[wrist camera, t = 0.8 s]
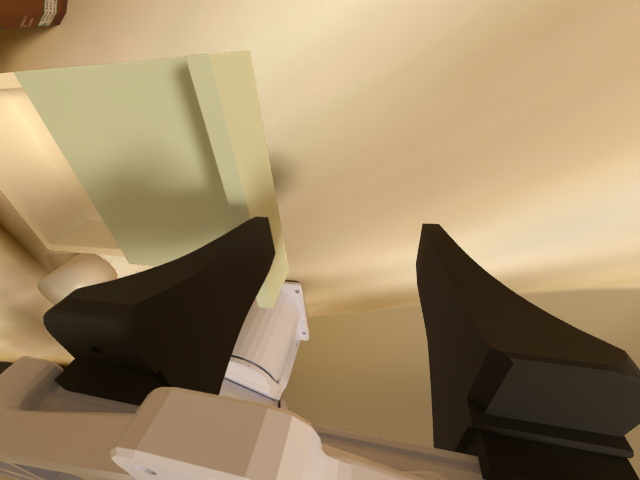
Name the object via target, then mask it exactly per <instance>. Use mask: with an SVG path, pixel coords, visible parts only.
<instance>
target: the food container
mask: <svg viewBox="0 0 640 480" xmlns="http://www.w3.org/2000/svg"><path fill="white" fill-rule="evenodd" d="M67 3H68V0H0V29H9V28H22V27H35V26H47V25H60V23H61V21H62V19H63V17H64V15H65V14H66V10H67Z"/></svg>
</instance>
